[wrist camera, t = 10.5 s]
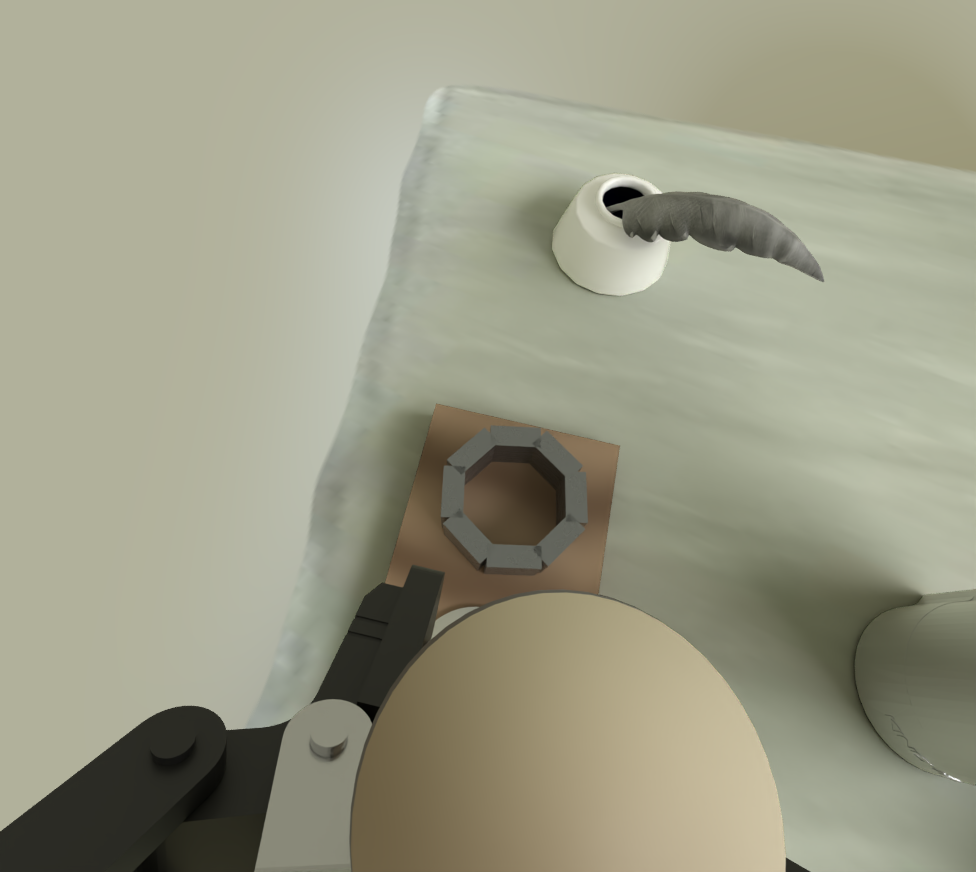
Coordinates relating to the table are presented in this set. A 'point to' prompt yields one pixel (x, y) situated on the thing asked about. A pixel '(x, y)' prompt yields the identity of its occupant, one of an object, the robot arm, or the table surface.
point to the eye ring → (548, 463)
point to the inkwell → (659, 233)
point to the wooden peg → (563, 751)
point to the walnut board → (501, 515)
